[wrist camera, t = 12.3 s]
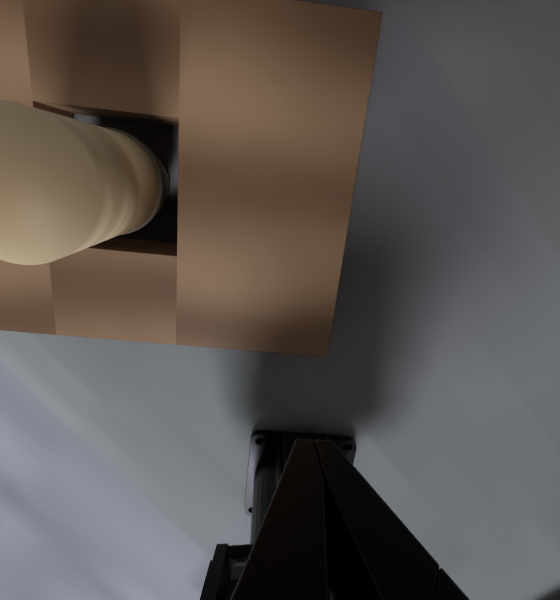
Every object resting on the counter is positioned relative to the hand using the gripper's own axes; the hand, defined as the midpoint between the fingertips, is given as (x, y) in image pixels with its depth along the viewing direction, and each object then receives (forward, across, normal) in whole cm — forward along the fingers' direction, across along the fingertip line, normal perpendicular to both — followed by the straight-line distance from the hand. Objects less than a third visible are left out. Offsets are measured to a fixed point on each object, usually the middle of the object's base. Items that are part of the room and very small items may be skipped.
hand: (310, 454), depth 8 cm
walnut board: (+12, +8, -5) cm, 15 cm away
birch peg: (+12, +8, -5) cm, 15 cm away
